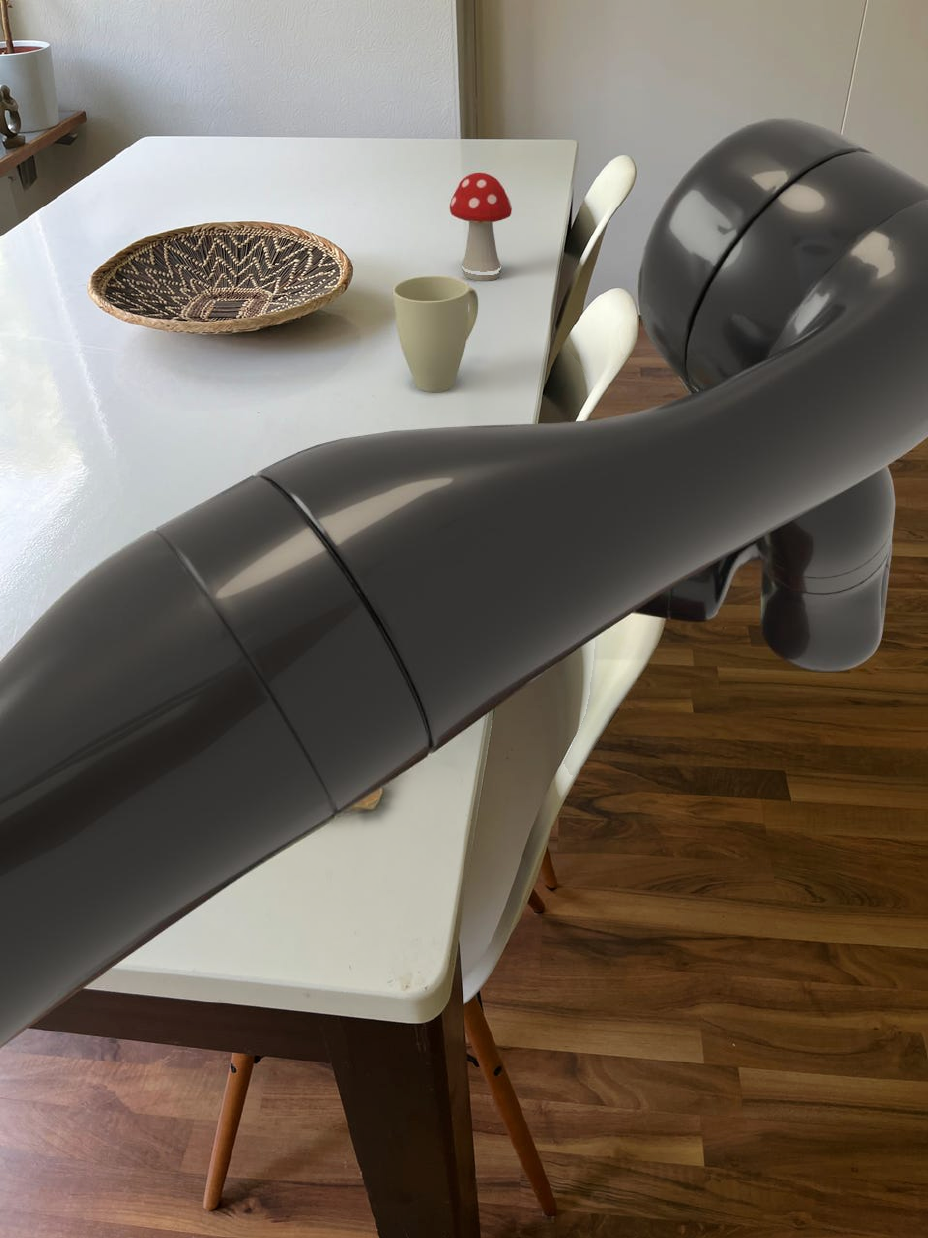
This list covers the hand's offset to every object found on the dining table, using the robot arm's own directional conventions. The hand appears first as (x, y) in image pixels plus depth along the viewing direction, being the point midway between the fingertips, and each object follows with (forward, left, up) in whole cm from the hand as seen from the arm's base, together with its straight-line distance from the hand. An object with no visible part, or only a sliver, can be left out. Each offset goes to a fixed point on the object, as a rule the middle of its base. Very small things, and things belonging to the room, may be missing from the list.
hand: (338, 518), depth 69 cm
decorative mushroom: (+87, +44, -16) cm, 99 cm away
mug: (+51, +27, -16) cm, 60 cm away
